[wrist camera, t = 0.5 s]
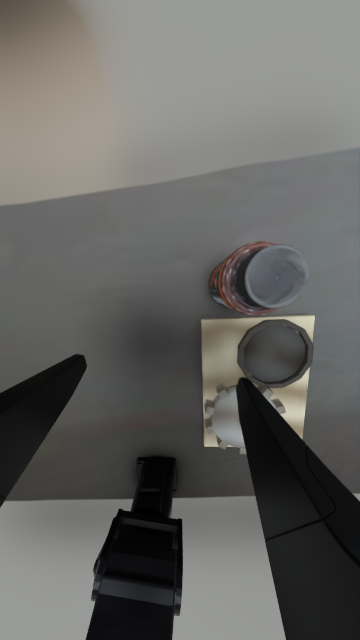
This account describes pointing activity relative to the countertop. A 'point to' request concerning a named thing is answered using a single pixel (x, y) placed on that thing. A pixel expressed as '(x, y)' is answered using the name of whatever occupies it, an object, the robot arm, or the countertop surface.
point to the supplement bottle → (259, 278)
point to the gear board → (254, 370)
